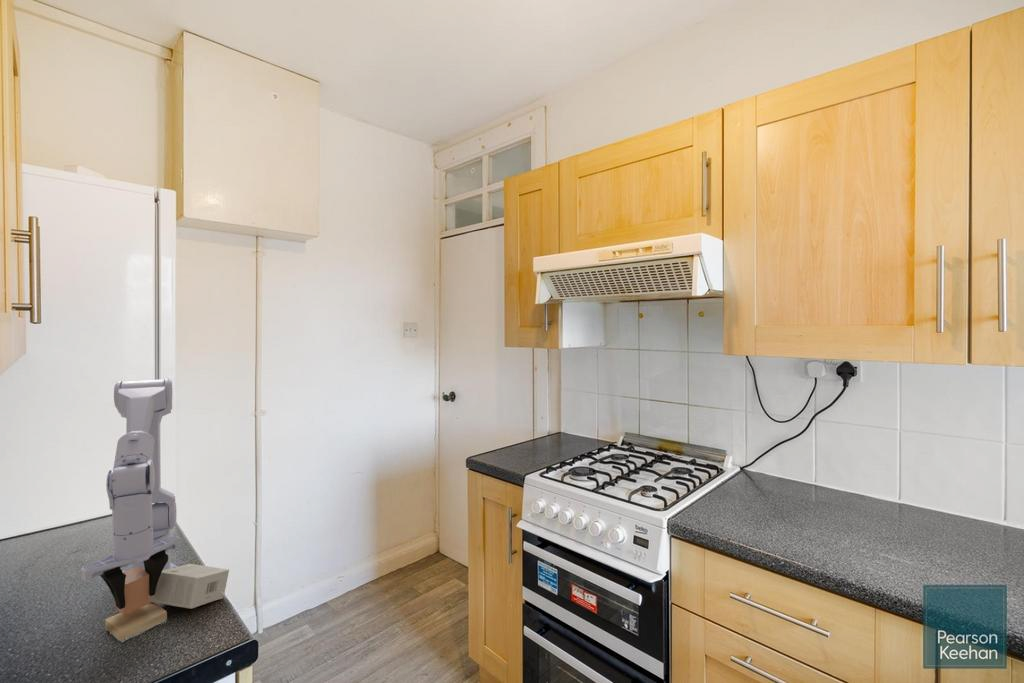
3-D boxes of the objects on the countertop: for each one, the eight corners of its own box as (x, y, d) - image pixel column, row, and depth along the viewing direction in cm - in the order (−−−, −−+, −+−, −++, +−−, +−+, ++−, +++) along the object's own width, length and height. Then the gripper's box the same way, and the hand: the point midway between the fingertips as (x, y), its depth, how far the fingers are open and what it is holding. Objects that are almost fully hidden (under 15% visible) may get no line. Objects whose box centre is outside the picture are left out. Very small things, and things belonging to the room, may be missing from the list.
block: (114, 606, 86) (113, 576, 86) (140, 594, 90) (139, 566, 89) (123, 615, 84) (122, 585, 84) (149, 603, 88) (149, 574, 87)
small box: (224, 598, 95) (183, 591, 97) (230, 568, 96) (189, 563, 99) (190, 609, 87) (146, 602, 90) (196, 577, 89) (153, 571, 91)
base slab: (105, 629, 85) (105, 619, 85) (150, 609, 91) (150, 599, 91) (121, 643, 81) (120, 632, 81) (167, 621, 87) (166, 611, 87)
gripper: (90, 550, 77) (93, 629, 78) (187, 519, 90) (189, 587, 90) (75, 540, 81) (78, 615, 81) (170, 511, 93) (172, 577, 94)
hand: (135, 600), depth 86 cm, fingers closed on block, 4 cm apart
